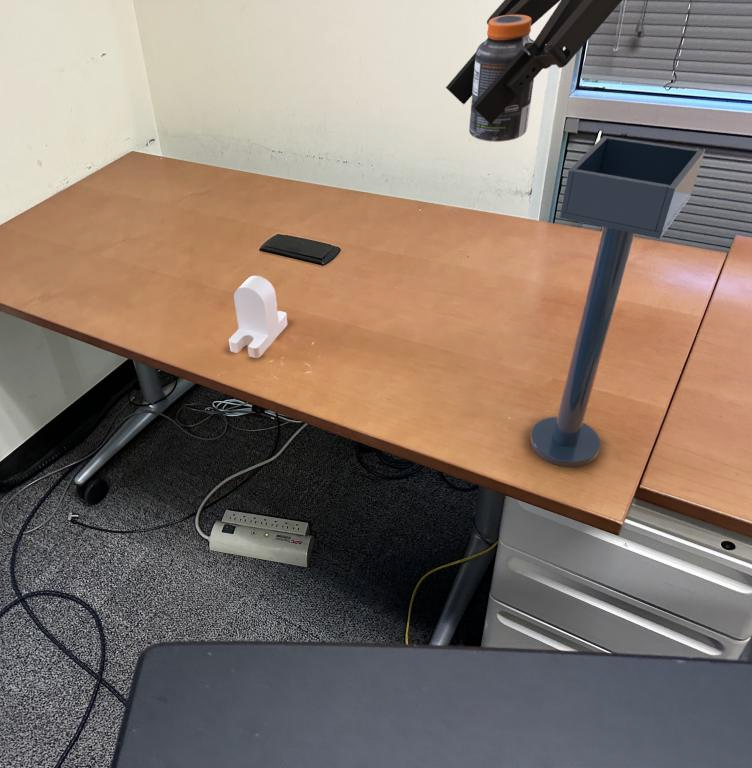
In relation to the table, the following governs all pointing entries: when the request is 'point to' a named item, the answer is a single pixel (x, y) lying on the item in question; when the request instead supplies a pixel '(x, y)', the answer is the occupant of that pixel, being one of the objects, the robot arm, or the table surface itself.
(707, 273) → the table surface
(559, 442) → the square tray stand
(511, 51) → the pill bottle
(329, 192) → the table surface
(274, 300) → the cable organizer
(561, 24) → the robot arm
